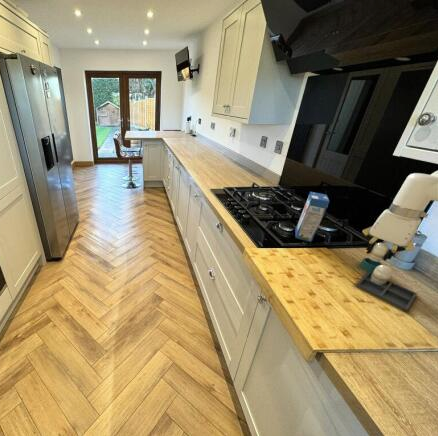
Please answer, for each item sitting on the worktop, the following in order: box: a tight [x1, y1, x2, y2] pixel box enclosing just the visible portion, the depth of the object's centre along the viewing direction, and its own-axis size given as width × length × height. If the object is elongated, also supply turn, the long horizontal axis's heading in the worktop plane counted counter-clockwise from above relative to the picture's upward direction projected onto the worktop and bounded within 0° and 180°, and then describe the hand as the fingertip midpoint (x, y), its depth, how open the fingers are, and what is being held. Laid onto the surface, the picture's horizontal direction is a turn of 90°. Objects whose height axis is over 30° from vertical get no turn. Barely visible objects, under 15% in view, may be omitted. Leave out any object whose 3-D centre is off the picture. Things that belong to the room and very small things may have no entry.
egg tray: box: [355, 272, 418, 313], centre depth 78 cm, size 13×13×2 cm
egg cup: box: [359, 257, 384, 273], centre depth 88 cm, size 6×6×4 cm
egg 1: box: [368, 242, 391, 262], centre depth 85 cm, size 4×4×7 cm
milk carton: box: [294, 191, 330, 243], centre depth 106 cm, size 10×6×20 cm, turn 151°
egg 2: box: [371, 264, 393, 285], centre depth 80 cm, size 4×4×7 cm
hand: (376, 255), depth 86 cm, fingers closed on egg 1, 4 cm apart
